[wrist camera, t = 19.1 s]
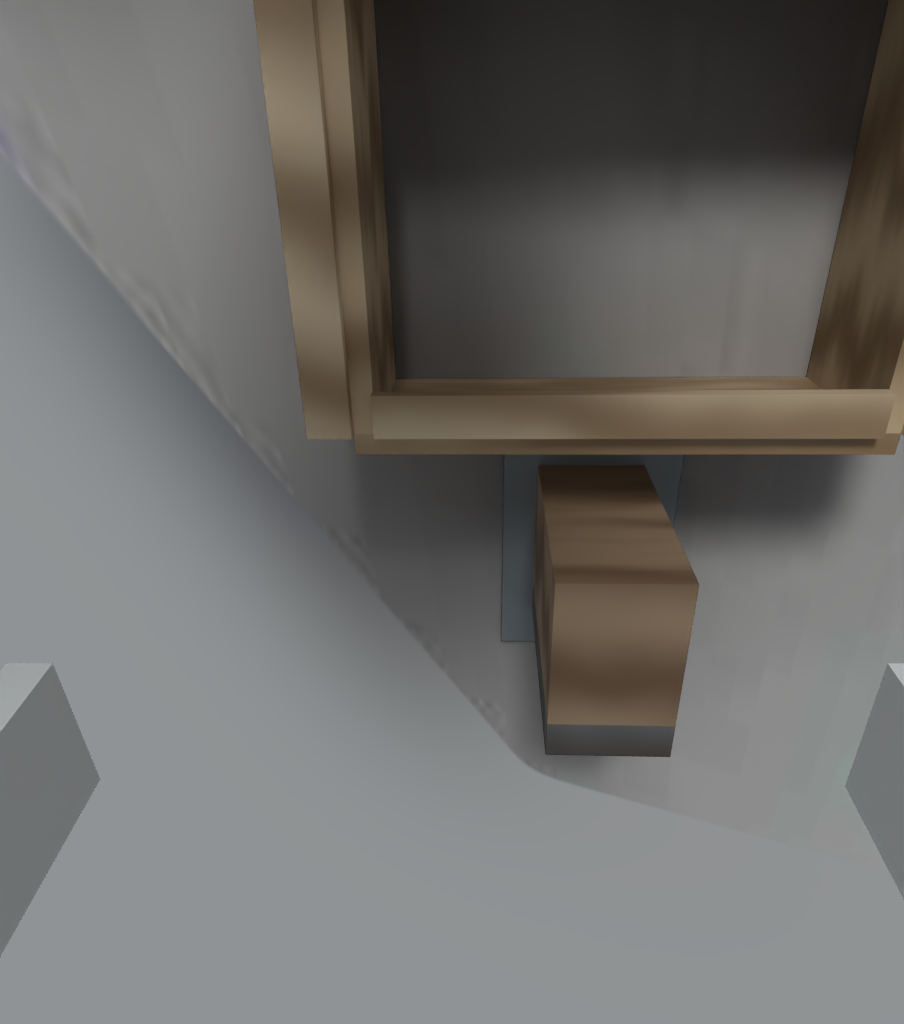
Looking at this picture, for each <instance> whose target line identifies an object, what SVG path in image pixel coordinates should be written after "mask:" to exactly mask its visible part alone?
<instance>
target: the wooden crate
mask: <svg viewBox="0 0 904 1024" xmlns="http://www.w3.org/2000/svg"><path fill="white" fill-rule="evenodd" d="M253 3H254V11H255V19H256V28H257V36H258V44H259V52H260V60H261V68H262V77H263V85H264V93H265V101H266V109H267V117H268V126H269V134H270V142H271V150H272V158H273V166H274V175H275V183H276V191H277V199H278V207H279V215H280V224H281V232H282V240H283V248H284V256H285V264H286V273H287V281H288V289H289V297H290V305H291V313H292V321H293V330H294V338H295V346H296V354H297V362H298V370H299V379H300V387H301V395H302V403H303V411H304V419H305V428H306V436H307V439H352V437H353V435H354V443H355V454H356V455H698V454H701V455H702V454H895V452H896V449H897V445H898V442H899V438H900V435H901V434H902V435H904V0H889V1H888V5H887V10H886V15H885V19H884V24H883V28H882V33H881V37H880V42H879V47H878V51H877V56H876V60H875V65H874V70H873V74H872V79H871V83H870V88H869V92H868V97H867V102H866V106H865V111H864V115H863V120H862V124H861V129H860V134H859V138H858V143H857V147H856V152H855V156H854V161H853V166H852V170H851V175H850V179H849V184H848V189H847V193H846V198H845V202H844V207H843V211H842V216H841V221H840V225H839V230H838V234H837V239H836V243H835V248H834V253H833V257H832V262H831V266H830V271H829V275H828V280H827V285H826V289H825V294H824V298H823V303H822V308H821V312H820V317H819V321H818V326H817V330H816V335H815V340H814V344H813V349H812V353H811V358H810V362H809V367H808V372H807V376H806V377H677V378H478V379H396V376H395V358H394V341H393V324H392V306H391V289H390V272H389V254H388V237H387V220H386V202H385V185H384V168H383V151H382V133H381V116H380V99H379V81H378V64H377V47H376V29H375V12H374V0H253Z"/></svg>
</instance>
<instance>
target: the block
mask: <svg viewBox="0 0 904 1024" xmlns="http://www.w3.org/2000/svg"><path fill="white" fill-rule="evenodd" d="M698 589H699V583H698V581H697V579H696V576H695V574H694V572H693V570H692V568H691V566H690V563H689V561H688V559H687V557H686V555H685V552H684V550H683V548H682V546H681V544H680V541H679V539H678V537H677V535H676V533H675V531H674V528H673V526H672V524H671V522H670V520H669V517H668V515H667V513H666V511H665V509H664V507H663V504H662V502H661V500H660V498H659V496H658V493H657V491H656V489H655V487H654V485H653V483H652V480H651V478H650V476H649V474H648V472H647V469H646V467H645V465H539V466H538V477H537V502H536V528H535V553H534V579H533V604H532V612H533V623H534V634H535V644H536V655H537V666H538V677H539V688H540V699H541V710H542V721H543V732H544V743H545V754H546V755H594V756H647V757H670V755H671V749H672V743H673V737H674V731H675V725H676V719H677V713H678V707H679V702H680V696H681V690H682V684H683V678H684V672H685V666H686V660H687V654H688V648H689V642H690V636H691V631H692V625H693V619H694V613H695V607H696V601H697V595H698Z"/></svg>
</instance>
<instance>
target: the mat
mask: <svg viewBox="0 0 904 1024" xmlns="http://www.w3.org/2000/svg"><path fill="white" fill-rule="evenodd" d="M683 457H684V455H504V503H503V564H502V626H501V641H535V634H534V623H533V612H532V604H533V579H534V553H535V528H536V502H537V477H538V466H539V465H645V467H646V469H647V472H648V474H649V476H650V478H651V480H652V483H653V485H654V487H655V489H656V491H657V493H658V496H659V498H660V500H661V502H662V504H663V507H664V509H665V511H666V513H667V515H668V517H669V520H670V522H671V524H672V526H673V527H674V520H675V513H676V506H677V499H678V492H679V485H680V478H681V471H682V464H683Z"/></svg>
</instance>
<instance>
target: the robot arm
mask: <svg viewBox="0 0 904 1024" xmlns="http://www.w3.org/2000/svg"><path fill="white" fill-rule="evenodd" d="M99 780H100V778H99V775H98V773H97V770H96V768H95V766H94V763H93V761H92V759H91V756H90V753H89V751H88V748H87V746H86V744H85V741H84V739H83V736H82V734H81V731H80V729H79V726H78V724H77V722H76V719H75V717H74V714H73V712H72V709H71V707H70V705H69V702H68V700H67V697H66V695H65V692H64V690H63V687H62V685H61V683H60V680H59V678H58V675H57V673H56V670H55V668H54V666H53V663H7V664H6V665H5V666H4V667H3V669H2V670H1V671H0V956H1V954H2V952H3V951H4V949H5V947H6V945H7V943H8V942H9V940H10V938H11V936H12V935H13V933H14V931H15V929H16V927H17V926H18V924H19V922H20V920H21V919H22V917H23V915H24V913H25V912H26V910H27V908H28V906H29V905H30V903H31V901H32V899H33V897H34V896H35V894H36V892H37V890H38V888H39V887H40V885H41V883H42V881H43V880H44V878H45V876H46V874H47V873H48V871H49V869H50V867H51V866H52V864H53V862H54V860H55V858H56V857H57V855H58V853H59V851H60V850H61V848H62V846H63V844H64V842H65V841H66V839H67V837H68V835H69V834H70V832H71V830H72V828H73V826H74V825H75V823H76V821H77V819H78V817H79V816H80V814H81V812H82V810H83V809H84V807H85V805H86V803H87V802H88V800H89V798H90V796H91V794H92V793H93V791H94V789H95V787H96V786H97V784H98V782H99ZM846 788H847V790H848V792H849V794H850V796H851V798H852V800H853V802H854V804H855V806H856V808H857V810H858V812H859V814H860V815H861V817H862V819H863V821H864V823H865V825H866V827H867V829H868V831H869V833H870V835H871V837H872V839H873V841H874V842H875V844H876V846H877V848H878V850H879V852H880V854H881V856H882V858H883V860H884V862H885V864H886V866H887V868H888V870H889V871H890V873H891V875H892V877H893V879H894V881H895V883H896V885H897V887H898V889H899V891H900V893H901V894H902V897H903V898H904V664H887V667H886V670H885V673H884V676H883V679H882V682H881V685H880V688H879V690H878V693H877V696H876V699H875V702H874V705H873V708H872V711H871V714H870V716H869V719H868V722H867V725H866V728H865V731H864V734H863V737H862V740H861V742H860V745H859V748H858V751H857V754H856V757H855V760H854V763H853V766H852V768H851V771H850V774H849V777H848V780H847V783H846Z"/></svg>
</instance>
